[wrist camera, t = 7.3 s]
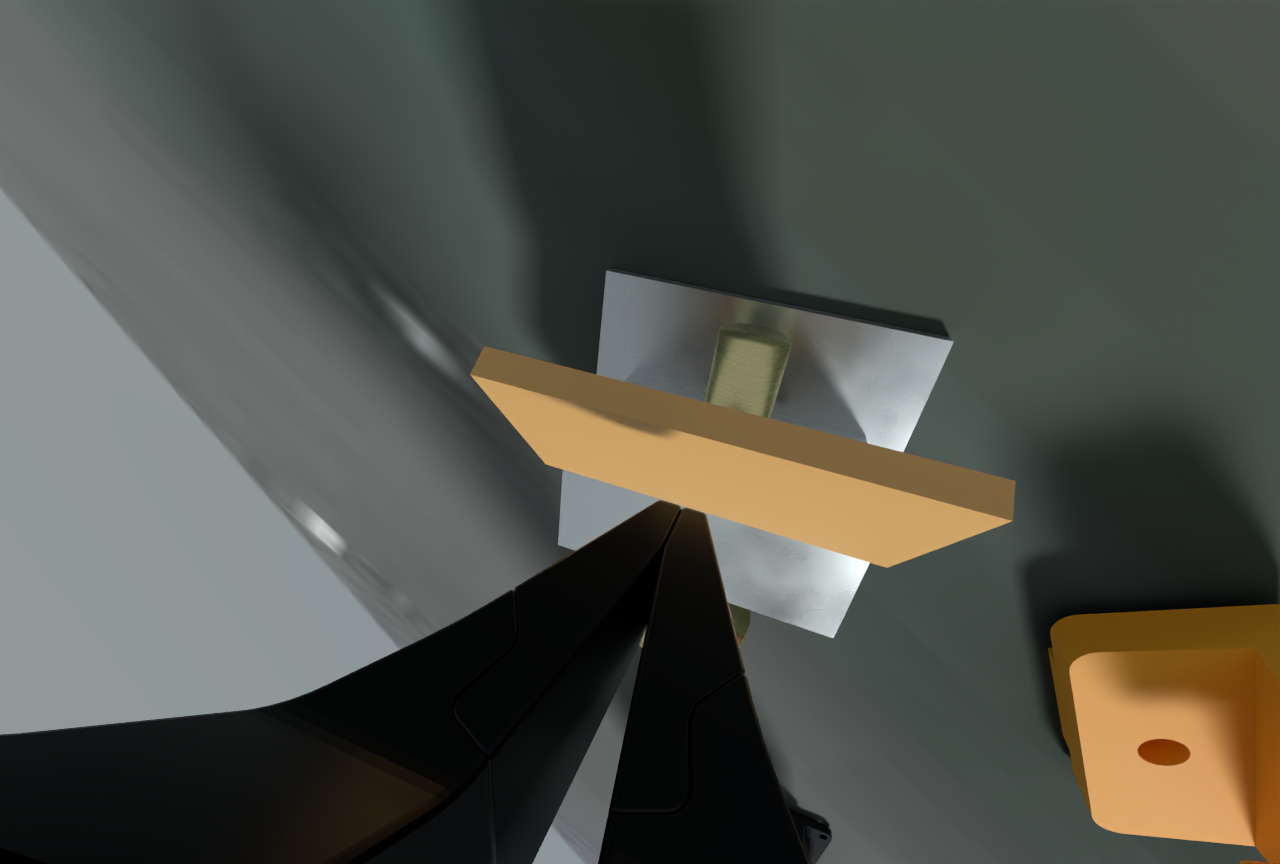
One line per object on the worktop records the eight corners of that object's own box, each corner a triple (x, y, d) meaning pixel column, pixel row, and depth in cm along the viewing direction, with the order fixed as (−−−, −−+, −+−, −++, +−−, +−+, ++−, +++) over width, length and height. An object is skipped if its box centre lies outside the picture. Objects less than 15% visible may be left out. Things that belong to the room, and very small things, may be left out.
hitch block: (854, 547, 22) (867, 678, 17) (591, 468, 25) (521, 557, 19) (950, 337, 18) (1016, 415, 12) (611, 268, 20) (525, 303, 14)
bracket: (1039, 601, 21) (1246, 998, 11) (1284, 586, 18) (1904, 1125, 8) (1068, 769, 24) (1248, 1195, 14) (1279, 781, 21) (1707, 1339, 11)
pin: (751, 592, 25) (735, 690, 20) (645, 557, 26) (606, 642, 21) (840, 331, 18) (847, 384, 13) (692, 300, 19) (650, 339, 14)
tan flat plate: (889, 534, 14) (883, 574, 14) (561, 439, 16) (547, 471, 16) (1030, 459, 8) (1026, 524, 8) (485, 326, 10) (461, 372, 10)
